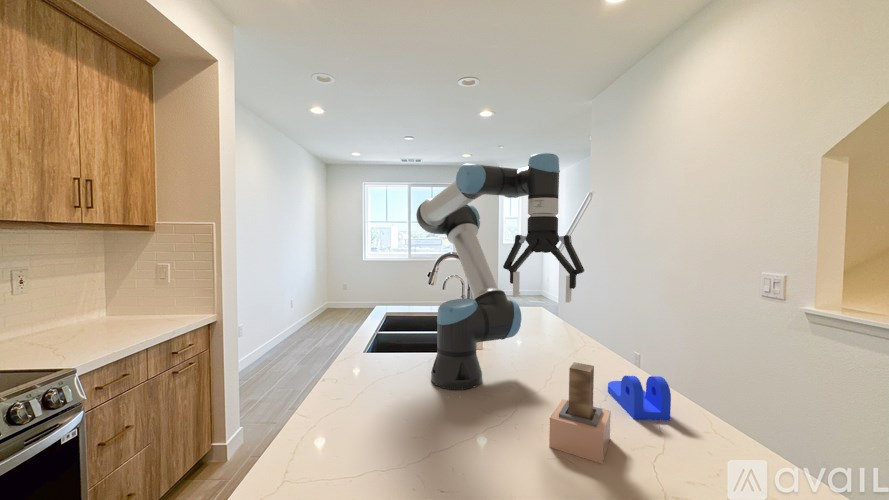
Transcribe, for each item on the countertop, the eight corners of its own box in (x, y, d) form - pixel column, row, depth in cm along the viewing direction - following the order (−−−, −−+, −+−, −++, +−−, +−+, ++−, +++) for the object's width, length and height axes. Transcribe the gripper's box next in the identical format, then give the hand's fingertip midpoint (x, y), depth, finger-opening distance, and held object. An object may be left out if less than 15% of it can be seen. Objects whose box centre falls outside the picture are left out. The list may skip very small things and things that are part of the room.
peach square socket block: (549, 446, 72) (549, 414, 72) (561, 424, 81) (562, 396, 81) (602, 463, 67) (603, 429, 67) (609, 438, 75) (610, 408, 75)
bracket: (670, 421, 83) (671, 383, 83) (633, 420, 84) (634, 382, 83) (632, 388, 101) (633, 357, 101) (602, 387, 101) (603, 356, 101)
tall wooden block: (567, 434, 73) (569, 367, 73) (572, 426, 77) (573, 362, 76) (588, 441, 71) (590, 371, 70) (592, 431, 74) (593, 365, 74)
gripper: (491, 216, 94) (490, 296, 95) (592, 214, 81) (589, 306, 82) (503, 217, 101) (501, 292, 101) (597, 215, 87) (595, 301, 88)
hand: (541, 298), depth 92 cm, fingers open, 13 cm apart
